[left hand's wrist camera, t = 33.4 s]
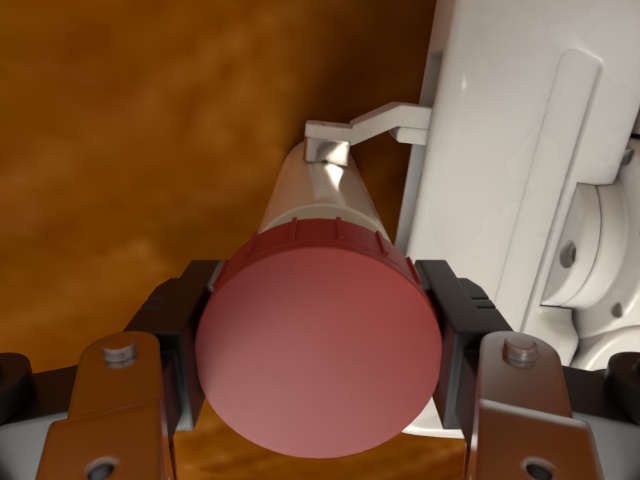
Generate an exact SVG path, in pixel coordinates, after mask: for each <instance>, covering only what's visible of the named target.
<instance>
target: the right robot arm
mask: <svg viewBox="0 0 640 480" xmlns="http://www.w3.org/2000/svg"><path fill="white" fill-rule="evenodd" d="M387 130H389V133H390V135H391V136H392V137H394V138H395V139H396V140H397V141H398V142H402V143H410V144H412V147H411V152H410V158H409V164H408V169H407V175H406V181H405V187H404V192H403V198H402V204H401V210H400V215H399V221H398V227H397V233H396V238H395V244H394V246H395V247H396V248H397V249H398V250H399V251H400V252H401V253H402V254H403V255H404V257H405V258H406V257H408V256H409V257H410V258H411V260H412V262H413V264H414V263H415V261H416V260H446V261H447V263H448V264H449V266H450V267H451V269H452V270H453V272H454V273H455V275H456V276H457V278H467V279H469V280H471V281H472V282H474V283H476V284H477V285H479V286H480V287H482V289H483V290H484V291H485V293H486V294H487V295H488V297H489V300H491V301H492V302H493V304H494V305H495V306H496V309H498V310H499V312H500V313H501V314H502V316H503V317H504V318H505V320H506V321H507V322H508V324H509V325H510V327H511V328H512V329H513V331H514V332H520V333H525V334H528V335H531V336H534V337H536V338H539V339H541V340H543V341H544V342H546V343H548V344H549V345H550V346H552V347H553V348H554V349H555V350H556V351H557V353H558V354H559V356H560V359H561V364H562V365H564V366H568V367H573V368H578V369H583V370H589V371H594V372H599V373H605V372H606V368H607V365H608V361H609V359H610V357H611V356H612V355H614V354H616V353H620V352H640V0H437V3H436V9H435V15H434V20H433V26H432V32H431V38H430V43H429V49H428V55H427V61H426V66H425V72H424V78H423V83H422V89H421V95H420V101H419V104H413V103H403V102H394V101H392V102H390V103H388V104H386V105H384V106H382V107H379V108H377V109H375V110H373V111H371V112H368V113H366V114H364V115H362V116H360V117H358V118H355V119H353V120H351V121H350V123H349V124H345V123H335V122H326V121H317V120H307V122H306V128H305V138H304V152H303V160H304V161H307V162H312V163H320V162H322V161H324V160H326V161H327V162H328V163H329V164H334V165H341V166H347V161H348V154H349V147H350V146H352V145H354V144H357V143H359V142H361V141H364V140H366V139H368V138H371V137H373V136H375V135H378V134H380V133H383V132H385V131H387ZM402 432H404V433H409V434H415V435H424V436H434V437H448V438H464V436H463V433H462V431H461V430H443V427H442V425H441V422H440V419H439V416H438V413H437V410H436V407H435V404H434V401H433V398H432V397H431V399H430V401H429V402H428V404H427V405H426V407H425V408H424V409H423V411H422V412H421V414H420V415H419V416H418V417H417V418H416V419H415V420H414V421H413V422H412V423H411V424H410V425H409V426H408V427H406V428H405V429H404V430H403V431H402Z"/></svg>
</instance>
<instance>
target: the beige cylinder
mask: <svg viewBox="0 0 640 480" xmlns="http://www.w3.org/2000/svg"><path fill="white" fill-rule="evenodd" d="M303 152H304V141H303V142H301V143H300V144H298V145H297V146H295V147H294V148H293V149H292V150H291V151H290V152H289V153H288V155H287V156H286V158H285V160H284V162H283V164H282V167H281V170H280V173H279V175H278V178H277V181H276V183H275V186H274V189H273V191H272V194H271V197H270V200H269V202H268V205H267V208H266V210H265V213H264V216H263V218H262V221H261V224H260V227H259V229H258V232H257V233H258V234H260V233H262V232H264V231H266V230H268V229H271V228H273V227H275V226H278V225H281V224H284V223H287V222H291V221H292V218H295V217H297V219H298V220H301V219H313V218H325V219H336V217H341V221H346V222H351V223H354V224H357V225H360V226H363V227H365V228H367V229H369V230H371V231H373V232H375V233H376V231H377V230H378V231H380V232H381V233H382V236H383V238H385V239H386V240H388V241H389V242H390V239H389V237H388V235H387V233H386V230H385V228H384V226H383V224H382V221H381V219H380V217H379V215H378V212H377V210H376V208H375V206H374V203H373V201H372V199H371V197H370V194H369V192H368V190H367V188H366V185H365V183H364V181H363V179H362V176H361V174H360V172H359V170H358V168H357V165H356V163H355V161H354V159H353V157H352V155H351V154H350V153H349V154H348V161H347V166H341V165H334V164H329V163H328V162H327V161H326V160H324V161H322V162H320V163H312V162H307V161H304V160H303ZM390 243H391V242H390Z"/></svg>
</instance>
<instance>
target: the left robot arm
mask: <svg viewBox="0 0 640 480" xmlns="http://www.w3.org/2000/svg"><path fill="white" fill-rule="evenodd" d="M222 265H223V262H222V260H192V261H191V262H190V264H189V265H188V267H187V268H186V270H185V271H184V273H183V274H182V276H181V277H180V278H171V279H169V280H167V281H166V282H164V283H162V284H161V285H159V286H157V287H156V288H155V289H154V291H153V292H152V293H151V295H150V296H149V297H148V300H146V301H145V303H144V304H143V305H142V307H141V309H139V311H138V312H137V313H136V315H135V316H134V317H133V319H132V320H131V321H130V323H129V324H128V325H127V327H126V328H125V329H124V331H123V332H120V333H115V334H112V335H109V336H106V337H104V338H101V339H99V340H97V341H96V342H94V343H92V344H91V345H90V346H88V347H87V348H86V349H85V350H84V351H83V353H82V354H81V356H80V359H79V364H78V365H75V366H71V367H67V368H62V369H57V370H51V371H46V372H41V373H35V374H33V372H32V369H31V365H30V361H29V359H28V358H27V357H26V356H24V355H22V354H18V353H0V480H178V477H177V465H176V454H175V447H174V440H173V436H174V433H175V431H176V430H194V428H195V425H196V422H197V419H198V416H199V414H200V411H201V408H202V405H203V402H204V399H205V395H204V393H203V391H202V389H201V386H200V383H199V378H198V370H197V361H196V352H195V334H196V330H197V327H198V323H199V320H200V318H201V315H202V313H203V311H204V309H205V307H206V305H207V303H208V301H209V299H210V296H211V294H212V292H213V290H214V287H212V285H213V283H214V281H215V279H216V277H217V275H218V273H219V271H220V269H221V267H222ZM414 266H415V268H416V270H417V272H418V274H419V276H420V278H421V280H422V284H421V285H422V288H423V290H426V292H427V294H428V296H429V298H430V300H431V302H432V304H433V306H434V308H435V310H436V312H437V314H438V323H439V326H440V330H441V333H442V353H441V363H440V372H439V380H438V384H437V386H436V389H435V391H434V393H433V395H432V398H433V401H434V404H435V407H436V410H437V413H438V416H439V419H440V422H441V425H442V427H443V430H461V431H462V433H463V436H464V439H465V441H466V447H465V454H464V465H463V477H462V480H640V352H620V353H616V354H614V355H612V356H611V357H610V359H609V361H608V365H607V368H606V372H605V373H599V372H594V371H589V370H583V369H578V368H573V367H568V366H564V365H562V364H561V359H560V356H559V354H558V353H557V351H556V350H555V349H554V348H553V347H552V346H550V345H549V344H548V343H546V342H544V341H543V340H541V339H539V338H536V337H534V336H531V335H528V334H525V333H520V332H514V331H513V329H512V328H511V327H510V325H509V324H508V322H507V321H506V320H505V318H504V317H503V316H502V314H501V313H500V312H499V310H498V309H496V306H495V305H494V304H493V302H492V301H491V300H489V297H488V295H487V294H486V293H485V291H484V290H483V289H482V287H480V286H479V285H477V284H476V283H474V282H472V281H471V280H469V279H467V278H457V276H456V275H455V273H454V272H453V270H452V269H451V267H450V266H449V264H448V263H447V261H446V260H416V261H415V263H414Z"/></svg>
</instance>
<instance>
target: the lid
mask: <svg viewBox="0 0 640 480" xmlns="http://www.w3.org/2000/svg"><path fill="white" fill-rule="evenodd" d="M421 284H422V280H421V278H420V276H419V274H418V272H417V270H416V268H415V266H414V264H413V262H412V260H411V258H410V257H409V256H408V257H406V258H405V257H404V255H403V254H402V253H401V252H400V251H399V250H398V249H397V248H396V247H395V246H394V245H392V244H391V243H390V242H389V241H388V240H386V239H385V238H383V236H382V233H381V232H380V231H378V230H377V231H376V233H375V232H373V231H371V230H369V229H367V228H365V227H363V226H360V225H357V224H354V223H351V222H346V221H341V217H336V219H325V218H313V219H301V220H298V219H297V217H295V218H292V221H291V222H287V223H284V224H281V225H278V226H275V227H273V228H271V229H268V230H266V231H264V232H262V233H260V234H258V233H257V232H256V233H254V234H253V235H252V238H251V240H250V241H249V242H247V243H246V244H245V245H244V246H243V247H241V248H240V249H239V250H238V251H237V253H236V254H235V255H234V256H233V257H232V258H231V259H230V261H229V260H227V259H226V260H225V262H224V263H223V265H222V267H221V269H220V271H219V273H218V275H217V277H216V279H215V281H214V283H213V285H212V287H214V290H213V292H212V294H211V296H210V299H209V301H208V303H207V305H206V307H205V309H204V311H203V313H202V315H201V318H200V320H199V323H198V327H197V330H196V334H195V352H196V361H197V370H198V378H199V383H200V386H201V389H202V391H203V393H204V395H205V397H206V398H207V400H208V402H209V403H210V405H211V406H212V408H213V409H214V410H215V412H216V413H217V414H218V415H219V416H220V417H221V419H222V420H223V421H224V422H225V423H226V424H227V425H229V426H230V427H231V428H232V429H233V430H235V431H236V432H237V433H239V434H240V435H242V436H243V437H245V438H246V439H248V440H250V441H252V442H254V443H255V444H257V445H259V446H262V447H264V448H267V449H269V450H272V451H275V452H278V453H282V454H286V455H291V456H297V457H303V458H334V457H341V456H347V455H351V454H355V453H359V452H363V451H365V450H368V449H371V448H373V447H376V446H378V445H380V444H382V443H384V442H386V441H388V440H390V439H391V438H393V437H394V436H396V435H397V434H399V433H400V432H402V431H403V430H404V429H405V428H406V427H408V426H409V425H410V424H411V423H412V422H413V421H414V420H415V419H416V418H417V417H418V416H419V415H420V414H421V412H422V411H423V409H424V408H425V407H426V405H427V404H428V402H429V401H430V399H431V397H432V395H433V393H434V391H435V389H436V386H437V384H438V380H439V372H440V363H441V353H442V333H441V330H440V326H439V323H438V314H437V312H436V310H435V308H434V306H433V304H432V302H431V300H430V298H429V296H428V294H427V292H426V290H423V288H422V285H421Z"/></svg>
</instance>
